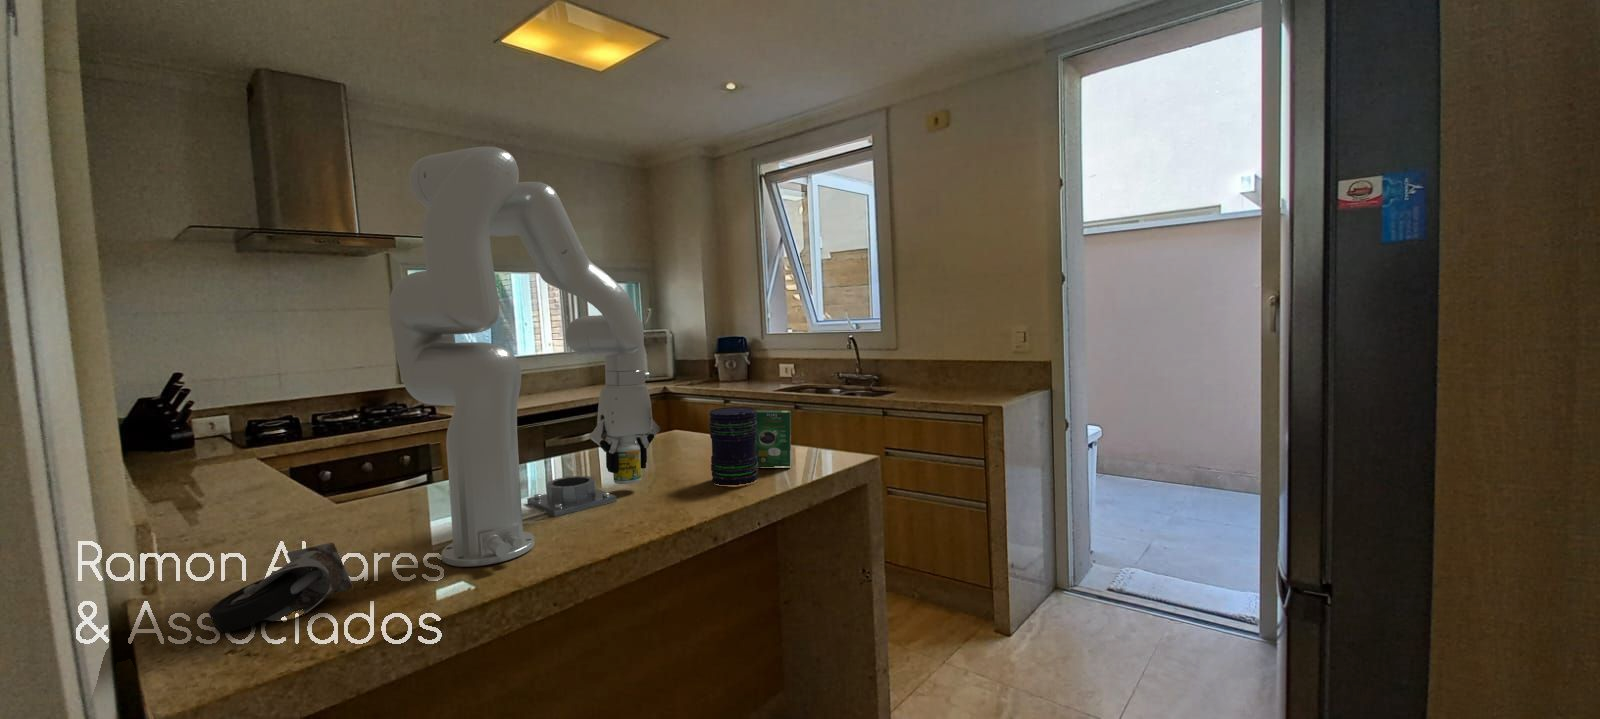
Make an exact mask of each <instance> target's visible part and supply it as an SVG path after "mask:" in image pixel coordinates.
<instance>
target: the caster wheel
mask: <svg viewBox="0 0 1600 719" xmlns="http://www.w3.org/2000/svg"><path fill="white" fill-rule="evenodd" d="M286 555H287V558H288V560H289V562H288V563H286V564H284V565H283V566H281V568H279V569H277V570H276V571H274V572H272V573H271V574H270V575H268V576H266V577H264V578H263V579H260V580H257V581H255V582H253V583H250V584H248V585H245V586H244V587H242V588H240V589H238V590H236V591H234V592H231V593H230V594H229V595H227V596H225V597H223V598H222V599H221V600H218V601H217V603H215V604H214V605H213V606H212V607H211V608H210V609H209V611H208V615H209V617H210V620H211V621H212V623H213V625H214V627H215V629H216V632H219V633H231V632H235V631H238V630H242V629H244V628H247V627H249V626H252V625H255V624H257V623H259V622H262V621H268V622H273V621H277V620H280V619H281V618H282V617H284V616H288V615H290V614H291V613H292V612H294V611H295V612H296V611H298V610H299V611H300V610H302V609H303V610H302V611H304V613H303V614H304V615H306V614H308V613H309V612H310V611H311V610H313V609H314V608H315V607H317V606H318V605H319V604H321V603H322V602H323V601H324V600H326V599H328V597H329V596H331V595H332V594H335V593H340V592H344V591H349V590H353V589H354V585H353V583H352V581H351V578H350V576H349V573H348V572H347V569H346V567H345V565H344V563H343V560H342V558H341V556H340V554H339V551H338V550H337V548H336V545H335V543H334V542H328V543H323V544H320V545H319V544H318V545H315V546H310V547H305V548H300V549H297V550H292V551H288V552H287V553H286ZM305 613H306V614H305ZM273 623H274V622H273Z"/></svg>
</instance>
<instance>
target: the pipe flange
mask: <svg viewBox="0 0 1600 719" xmlns="http://www.w3.org/2000/svg"><path fill="white" fill-rule="evenodd" d="M545 488H546V493H544V494H540V493H538V494H536V493H535V494H534V495H533V496H532V497H528V498H526V499H527V504H528V505H530V506H532V507H533V508H536V509H538V510H539V511H542V512H544V513H547V514H549V515H550V516H552V517H555V518H556V517H560V516H563V515H568V514H571V513H575V512H579V511H583V510H588V509H592V508H595V507H599V506H603V505H608V504H611V503H616V502H618V501H617V495H614V494H611V493H610V492H609V491H608V492H606V491H603V490H601V489H599V488H596V478H595V477H593V476H589V475H588V476H587V475H574V476H572V475H571V476H565V477H560V478H559V477H558V478H556V479H553V480H550V481H548V482H547V483H546V486H545Z"/></svg>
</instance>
